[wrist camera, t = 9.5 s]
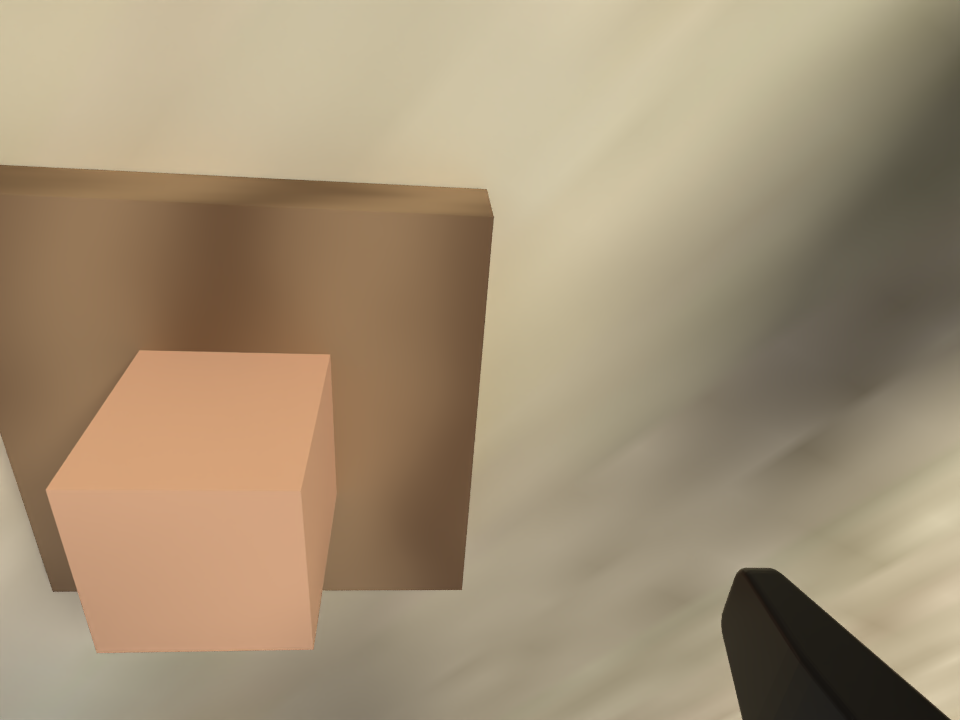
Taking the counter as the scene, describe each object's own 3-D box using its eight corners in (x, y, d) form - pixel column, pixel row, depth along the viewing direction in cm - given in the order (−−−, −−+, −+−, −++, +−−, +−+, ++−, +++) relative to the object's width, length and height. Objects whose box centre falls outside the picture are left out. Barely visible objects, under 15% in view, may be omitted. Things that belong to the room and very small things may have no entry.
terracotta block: (330, 354, 18) (300, 491, 13) (337, 494, 20) (313, 649, 16) (139, 350, 17) (45, 489, 13) (168, 493, 19) (96, 652, 15)
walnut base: (486, 189, 18) (493, 217, 16) (458, 542, 24) (461, 589, 22) (-28, 163, 17) (-80, 190, 15) (80, 541, 23) (52, 591, 21)
